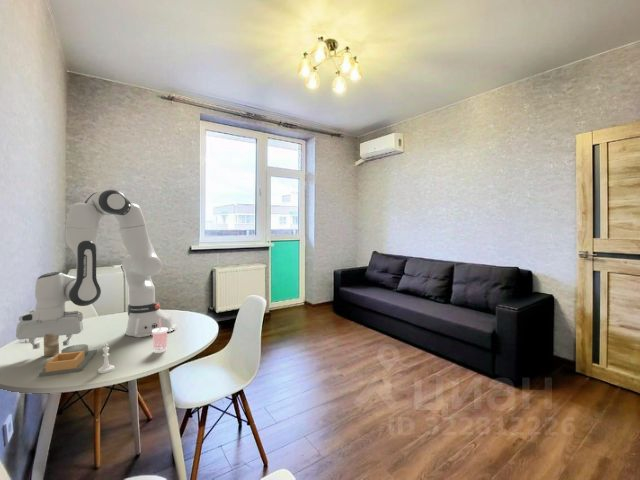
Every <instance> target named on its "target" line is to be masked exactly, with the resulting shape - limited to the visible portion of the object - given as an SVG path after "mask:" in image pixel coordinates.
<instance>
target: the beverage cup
mask: <svg viewBox="0 0 640 480" xmlns="http://www.w3.org/2000/svg"><path fill="white" fill-rule="evenodd" d="M167 332H168V328H166V327H161V318H159V328H156V329H153V330H152V334H153V335H152V344H153V352H154V353H155V354H160V353H164V352H166V351H167V346H168V345H167V344H168V343H167V342H168V333H167ZM165 350H166V351H165Z"/></svg>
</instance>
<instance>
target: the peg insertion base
mask: <svg viewBox="0 0 640 480" xmlns="http://www.w3.org/2000/svg"><path fill="white" fill-rule="evenodd" d="M60 351H61V353H59V354H56V355H55V356H52V357H51V359H49V360H48V361H47V362H46V363H45V368H43V369H42V370H41V371H40V372H39V373H38V377H39V378H40V377H46V376H51V375H52V376H53V375H60V374H66V373H75V372H82V371H83V369H84V368H85V367H86V366H87V365H88V363H90V361H91V360H92V359H93V357H94V356H96V353H98V349H92V350H89V345H88V344H84V343H83V344H75V345H70V346H69V345H68V346H67V347H65V348H62V350H60Z"/></svg>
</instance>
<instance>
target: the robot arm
mask: <svg viewBox="0 0 640 480" xmlns="http://www.w3.org/2000/svg"><path fill="white" fill-rule="evenodd" d="M104 216H113V217H115V218H116V220H117V222H118V227H119V232H120V236H121V240H122V244H123V246H124V247H125V248H126V250H127V252H128V254H127V255H125V256H124V258H123V259H122V261H121V266H122V268H123V270H124V272H125V278H126V282H127V286H128V305H127V316H128V320H127V325H126V330H125V332H124V333H125V335H126V336H129V337H135V338H143V337H150V335H151V336H153V334H152V330H153V329H156V328H159V318H161V327H166V328H168V332H169V333H172V332H171V331H173V330H174V331H176V329H177V328H176V326H177V327H178V325H177V323H176V322H173V319H172V317H171V315H170V314H169V313H167V312H166V311H164V310H162V309H161V308H160V306H161V305H160V302H157V301H156V287H155V284H154V283H153V280H152V277H154V276H156V275H159V274H160V273H161V271H162V269H163V261H162V260H161V259H160V257H159V256H158V255H157V253H156V251H155V249H154V246H153V244H152V241H151V239H150V235H149V231H148V227H147V222H146V219H145V216H144V214H143V211H142V207H140V206H139V205H138V204H137V203H132V202H131V201H129V200H128V198H127V197H126V195H125V194H124V193H122V192H121V191H120V190H116V189H105V190H104V189H103V190H99V191H97V192H94V193H92V194H91V195H89V196H88V198H87V199H86V200H85V201H84V202H76V203H74V204H72V205H71V206H70V207H69V210H68V212H67V217H66V221H65V232H64V235H65V240H66V241H65V242H66V245H67V246H68V247H69V248H70V249H71V251H72V252H73V255H74V256H75V259H76V260H75V261H76V271H75V272H76V276H72V275H68V274H66V273H64V272H61V271H54V272H47V273H44V274H41V275H39V276H38V278H37V279H36V282H35V287H34V288H35V289H34V292H35V293H34V297H35V299H36V300H35V301H36V304H35V309H34V310H30V311H27V312H26V313H23V314H21V315H20V316H19V317H18V323H17V325H16V330H15V337H16V339H18V340H19V341H20V340H28V342H29V343H30V344H31V345H32V350H36V349H37V350H38V349H40V347H41V346H40V345H41V344H40V342H37V341H36V339H37V338H41V339H42V338H44V337H45V335H46V334H53V335H54V336H59V337H60V336H65V338H66V339H65V340H63V341H62V346H63V347H64V346H67V347H68V346H69V345H70V340H71V339H72V337H73V335H78V334H80V333H81V332H82V331H83V330H84V324H83V319H84V315H83V313H82V312H81V311H78V310H75V311H66V303H67V302H70V301H71V303H72V304H74V305H76V306H78V307H85V306H90V305H93V304H94V303H96V302H97V301H98V299H99V298H100V297H101V293H102V290H101V287H100V284H99V282H98V279H97V248H98V239H99V234H100V233H99V231H100V229H99V228H100V222H101V221H100V220H101V219H102V217H104ZM175 328H176V329H175ZM174 331H173V332H174Z"/></svg>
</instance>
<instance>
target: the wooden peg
mask: <svg viewBox="0 0 640 480" xmlns="http://www.w3.org/2000/svg"><path fill="white" fill-rule="evenodd" d="M56 354H60V336H54V335H53V334H46V335H45V337H43V357H45V358H52V357H54V356H55V355H56Z"/></svg>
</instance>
